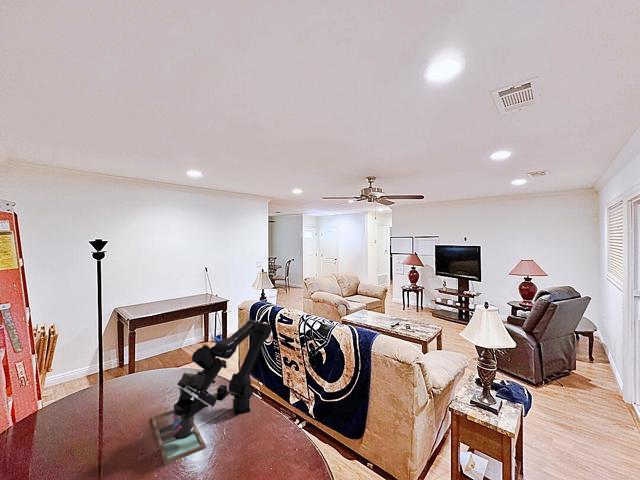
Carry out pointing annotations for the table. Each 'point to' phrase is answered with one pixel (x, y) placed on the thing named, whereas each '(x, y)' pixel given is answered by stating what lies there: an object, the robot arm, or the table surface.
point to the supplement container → (182, 419)
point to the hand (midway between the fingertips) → (179, 416)
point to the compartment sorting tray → (176, 441)
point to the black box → (222, 392)
